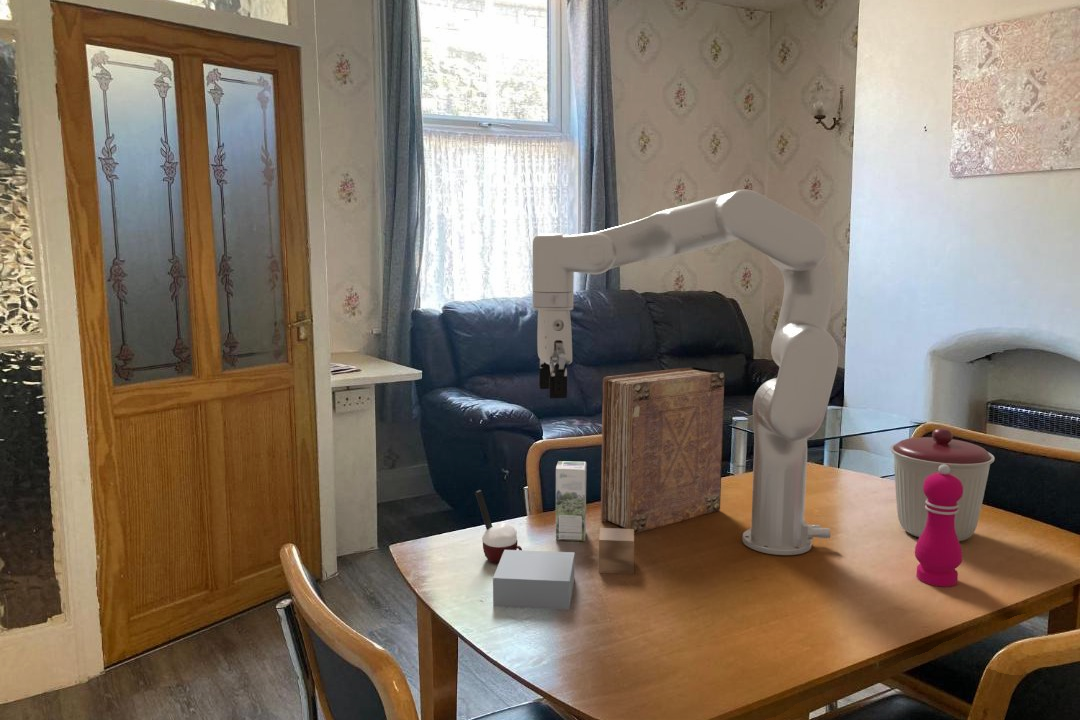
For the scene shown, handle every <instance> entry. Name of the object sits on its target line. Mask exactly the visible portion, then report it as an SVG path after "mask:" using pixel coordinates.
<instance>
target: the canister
mask: <svg viewBox="0 0 1080 720" xmlns="http://www.w3.org/2000/svg"><path fill="white" fill-rule="evenodd" d="M953 437H954V436H953V432H952V431H951V430H949V429H948V428H944V427H939V428H936V429H934V430H933V431H932V433H931V437H927V436H925V437H924V436H922V437H920V436H919V437H911V438H910V437H909V438H905V439H902V440H900V441H898V442H896V443H894V444H892V445H891V446H890V448H889V449H890V452H891V453H892V454H893V465H894V466H893V468H894V481H895V482H894V487H895V498H896V499H895V500H896V509H897V510H896V512H897V517H898V522H899V524H900V526H901V528H902V529H903V530H904V531H905V532H906V533H908V534H910V535H912V536H914V537H917V538H918V539H919V538H920V536H921V534H922V533H923V531H924V529H925V526H926V523H927V517H928V514H927V510H926V509H925V506H926V503H925V501H926V500H927V499H928V498H927V497H926V495H925V494H924V491H923V484H924V481H925V480H926V478H927V477H928V476H930V475H931V474H934V473H939V470H938V468H939V466H940V465H943V464H945V465H948V466H949V468H950V473H949V474H951V475H953V476H955V477H957V478H958V479H959V480H960V481H961V483H962V486H963V495H962V497H961V498H960V499H959V500H958V501H957V503H958V505H959V507H958V513H956V514H955V519H954V524H955V532H956V535H957V538H958V541H959V542H963V541H967V540H968V539H969V538H971V537H972V536H973V535H974V533H975V531H976V529H977V526H978V523H979V519H980V515H981V510H982V505H983V502H984V501H983V500H984V497H985V491H986V486H987V482H988V478H989V471H990V467H991V464H992V463H994V461H995V459H996V458H995V456H994V455H993V454H992V453H991V452H989V451H987V450H986V449H985V448H983V447H982V446H979V445H977V444H974V443H972V442H968V441H964V440H959V439H953Z"/></svg>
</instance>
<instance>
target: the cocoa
mask: <svg viewBox="0 0 1080 720" xmlns="http://www.w3.org/2000/svg"><path fill="white" fill-rule="evenodd" d="M475 497H476V499H477V503H478V506H479V509H480V512H481V516H482V519H483V522H484V526H485V529H486V530H485V531H484V532H483V535H482V537H481V541H482V549H483V553H484V557H486V559H487V560H488V562H490V563H492V564H495V563H496V565H498V564H499V562H500V559H501V557H502V555H503V552H504V550H523V549H522V547H521V546H520V545H518V536H517V533H518V532H517V530H516V528H515V527H514V526H513V525H511V524H509V523H507V522H501V521H500V522H497V523H496V524H495V525H494V526H493V524H492V521H491V518H490V514H489V511H488V508H487V504H486V501H485V498H484V495H483V492H482V490H481V489H479V490H478V489H477V490H476V491H475Z"/></svg>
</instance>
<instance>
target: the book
mask: <svg viewBox="0 0 1080 720" xmlns="http://www.w3.org/2000/svg"><path fill="white" fill-rule="evenodd" d="M724 395H725V372H723V371H719V370H717V371H716V370H712V369H707V368H706V369H705V368H701V367H694V366H690V367H681V368H673V369H672V368H671V369H663V370H655V371H646V372H645V371H644V372H636V373H628V374H620V375H619V374H618V375H611V376H609V375H608V376H605V377H603V378H602V409H601V410H602V414H601V415H602V416H601V417H602V418H601V423H602V424H601V473H600V474H601V476H600V477H601V480H600V487H601V488H600V489H601V490H600V521H601V522H602V523H605V522H611V523H613V524H615V525H618V526H620V527H622V528H623V529H634V534H637V533H641V532H644V531H648V530H652V529H657V528H660V527H663V526H668V525H670V524H675V523H678V522H681V521H682V520H683V521H685V520H689V519H693V518H696V517H698V518H699V517H700V516H705V515H708V514H712V513H716V512H719V511H721V499H722V498H721V496H722V495H721V493H722V468H723V467H722V463H723V462H722V460H723V436H724V435H723V433H724V430H723V429H724V400H725V399H724V398H725V397H724Z"/></svg>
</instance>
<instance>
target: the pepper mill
mask: <svg viewBox="0 0 1080 720" xmlns="http://www.w3.org/2000/svg"><path fill="white" fill-rule="evenodd" d="M938 470H939V473H934V474H931V475H930V476H928V477H927V478H926V480H925V481H924V484H923V491H924V494H925V495H926V497H927V498H928V499H927V500H926V501H925V503H926V506H925V509H926V510H927V514H928V517H927V523H926V526H925V529H924V531H923V533H922V534H921V536H920V538H919V537H918V539H917V541H916V544H915V547H914V557H915V559H916V560H917V561H918V562H919V564H917V566H916V577H917V579H918V580H919V581H920V582H922V583H925V584H928V585H931V586H936V587H943V588H944V587H945V588H946V587H954V586H955V585H957V583H958V581H959V580H958V577H959V576H958V575H959V572H958V571H957V568H958V567H959V566H961V564H962V562H963V550H962V547H961V544H960V541H958V538H957V535H956V532H955V524H954V519H955V514H956V513H958V507H959V505H958V503H957V501H958V500H959V499H960V498H961V497H962V495H963V486H962V483H961V481H960V480H959V479H958V478H957V477H955V476H953V475H951V474H949V473H950V468H949V466H948V465H945V464H943V465H940V466H939V468H938Z"/></svg>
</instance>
